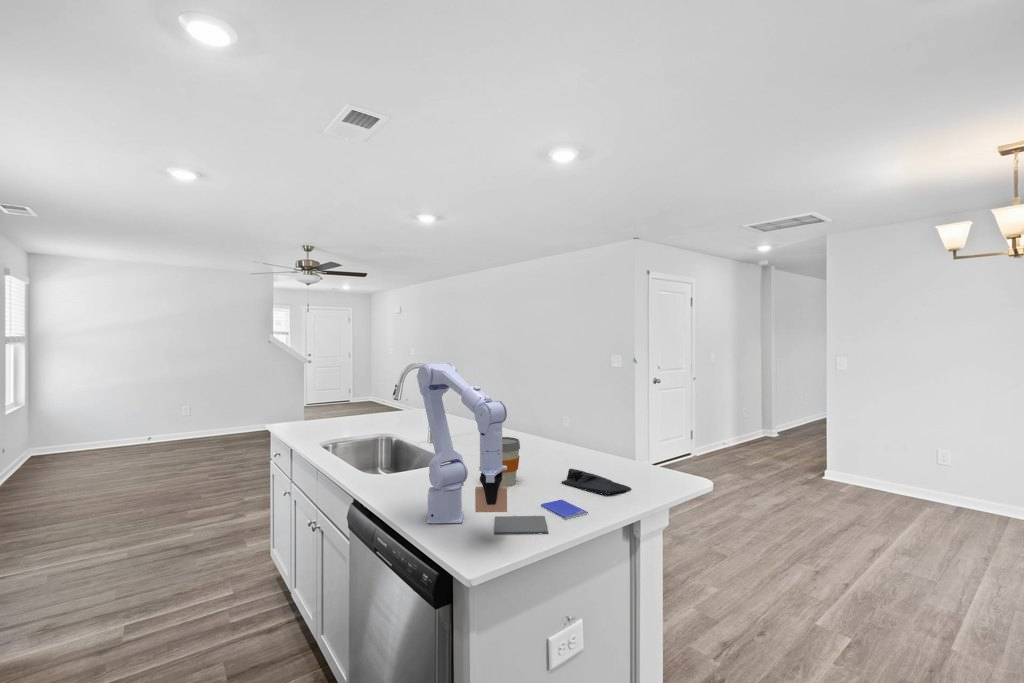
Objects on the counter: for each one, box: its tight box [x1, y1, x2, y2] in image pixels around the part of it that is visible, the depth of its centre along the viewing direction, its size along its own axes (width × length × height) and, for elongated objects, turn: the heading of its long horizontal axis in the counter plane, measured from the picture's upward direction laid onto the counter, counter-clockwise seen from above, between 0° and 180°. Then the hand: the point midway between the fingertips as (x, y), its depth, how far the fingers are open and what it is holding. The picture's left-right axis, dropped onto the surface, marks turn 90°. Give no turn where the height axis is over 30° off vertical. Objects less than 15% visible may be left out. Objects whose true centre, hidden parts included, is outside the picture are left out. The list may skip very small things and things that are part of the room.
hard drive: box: [540, 499, 589, 521], centre depth 139 cm, size 2×8×12 cm
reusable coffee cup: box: [499, 436, 521, 487], centre depth 167 cm, size 13×13×15 cm
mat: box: [493, 515, 549, 535], centre depth 128 cm, size 14×11×1 cm
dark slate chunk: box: [561, 468, 632, 495], centre depth 163 cm, size 15×22×5 cm
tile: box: [474, 486, 508, 513], centre depth 121 cm, size 8×2×6 cm, turn 90°
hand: (491, 502), depth 121 cm, fingers closed on tile, 2 cm apart
